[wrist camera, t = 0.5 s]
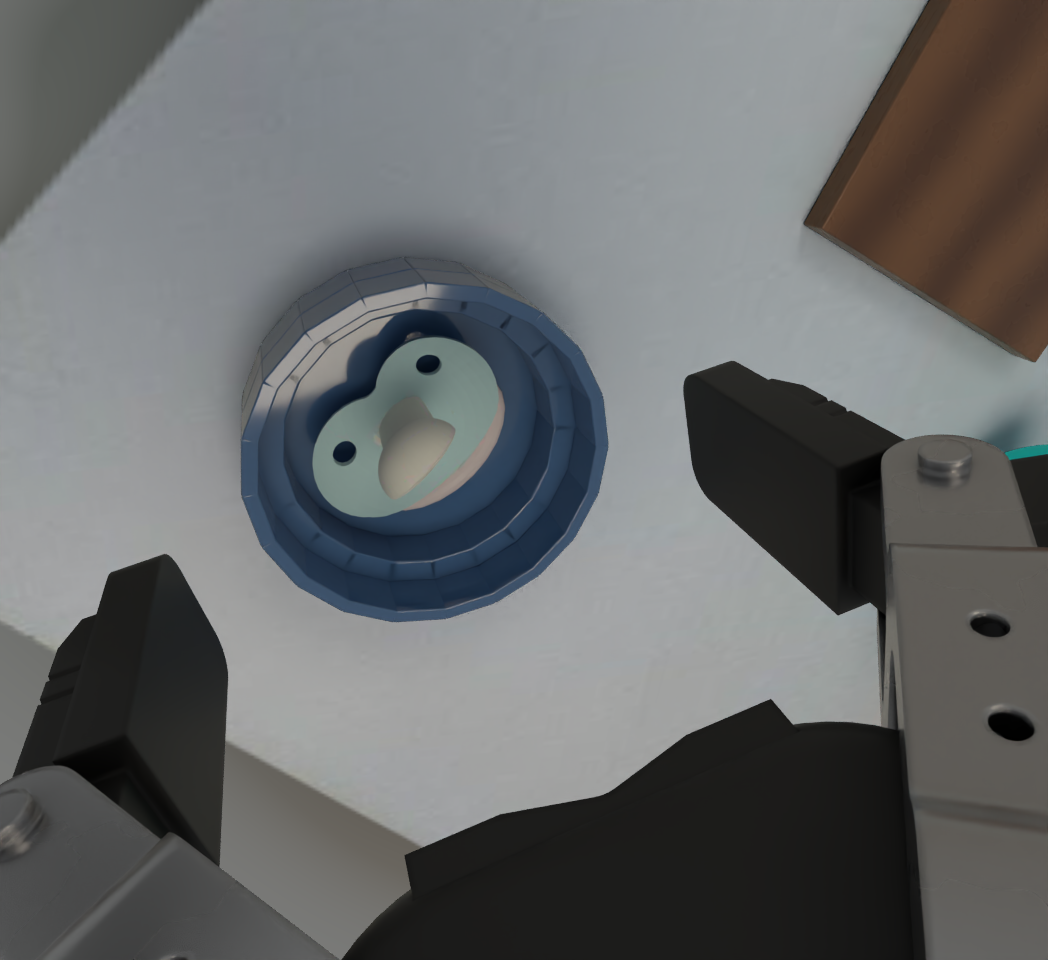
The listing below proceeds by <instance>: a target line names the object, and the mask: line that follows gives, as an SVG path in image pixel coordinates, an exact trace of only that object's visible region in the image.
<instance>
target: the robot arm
mask: <svg viewBox="0 0 1048 960" xmlns="http://www.w3.org/2000/svg"><path fill="white" fill-rule="evenodd" d="M683 392H684V401H685V410H686V418H687V426H688V435H689V443H690V452H691V460H692V466H693V470H694V473H695V476H696V479H697V481H698V484H699V486H700V488H701V489H702V491H703V492H704V494H705V495H706V497H707V498H708V499H709V500H710V501H711V502H712V503H714V504H715V505H716V506H717V507H718V508H719V509H720V510H721V511H722V512H724V513H725V514H726V515H727V516H728V517H729V518H730V519H731V520H732V521H734V522H735V523H736V524H737V525H738V526H739V527H740V528H741V529H742V530H744V531H745V532H746V533H747V534H748V535H749V536H750V537H751V538H752V539H754V540H755V541H756V542H757V543H758V544H759V545H760V546H761V547H762V548H764V549H765V550H766V551H767V552H768V553H769V554H770V555H771V556H772V557H774V558H775V559H776V560H777V561H778V562H779V563H780V564H781V565H782V566H784V567H785V568H786V569H787V570H788V571H789V572H790V573H791V574H792V575H794V576H795V577H796V578H797V579H798V580H799V581H800V582H801V583H802V584H804V585H805V586H806V587H807V588H808V589H809V590H810V591H811V592H812V593H814V594H815V595H816V596H817V597H818V598H819V599H820V600H821V601H822V602H824V603H825V604H826V605H827V606H828V607H829V608H830V609H831V610H832V611H834V612H835V613H836V614H837V615H840V614H843V613H845V612H848V611H850V610H852V609H855V608H857V607H860V606H862V605H864V604H867V603H869V602H870V603H871V604H873V605H874V606H875V607H876V608H877V644H878V667H879V689H880V712H881V727H880V726H876V725H869V724H861V723H853V722H814V723H801V724H795V725H793V724H792V723H791V722H790V721H789V720H788V718H787V717H786V716H785V715H784V714H783V713H782V711H781V710H780V709H779V708H778V707H777V706H776V704H775V703H774V702H773V701H772V700H771V699H770V700H767V701H765V702H763V703H760V704H758V705H756V706H753V707H751V708H749V709H746V710H744V711H742V712H739V713H737V714H735V715H732V716H730V717H728V718H725V719H723V720H721V721H718V722H716V723H714V724H711V725H709V726H706V727H704V728H702V729H699V730H697V731H695V732H692V733H690V734H688V735H686V736H685V737H683V738H682V739H680V740H679V741H678V742H676V743H675V744H674V745H672V746H671V747H670V748H668V749H667V750H666V751H664V752H663V753H662V754H660V755H659V756H658V757H656V758H655V759H654V760H652V761H651V762H650V763H648V764H647V765H646V766H644V767H643V768H642V769H640V770H639V771H638V772H636V773H635V774H634V775H632V776H631V777H630V778H628V779H627V780H626V781H624V782H623V783H622V784H620V785H619V786H618V787H616V788H615V789H613V790H612V791H610V792H609V793H606V794H604V795H601V796H598V797H593V798H588V799H582V800H577V801H571V802H566V803H560V804H555V805H549V806H544V807H538V808H533V809H527V810H522V811H516V812H511V813H506V814H500V815H498V816H495V817H493V818H491V819H488V820H486V821H484V822H481V823H479V824H477V825H474V826H472V827H470V828H467V829H465V830H463V831H460V832H458V833H456V834H453V835H451V836H449V837H446V838H444V839H442V840H439V841H437V842H435V843H432V844H430V845H427V846H425V847H423V848H420V849H418V850H416V851H413V852H411V853H409V854H406V855H405V860H406V865H407V871H408V876H409V881H410V886H411V890H409V891H408V892H406V893H405V894H404V895H402V896H401V897H400V898H399V899H397V900H396V901H395V902H394V903H393V904H391V905H390V906H389V907H388V908H387V909H386V910H385V911H384V912H383V913H381V914H380V915H379V916H378V917H377V918H376V919H375V920H374V921H373V923H371V925H370V926H369V927H368V928H367V929H366V930H365V931H364V932H363V933H362V934H361V936H360V937H359V938H358V939H357V940H356V942H354V944H353V945H352V947H351V948H350V949H349V950H348V952H347V953H346V954H345V956H344V957H343V958H342V960H1048V454H1045V455H1038V456H1032V457H1025V458H1019V459H1012V460H1009V458H1008V457H1007V455H1006V454H1005V453H1004V452H1003V451H1001V450H1000V449H998V448H997V447H995V446H993V445H991V444H989V443H986V442H984V441H981V440H978V439H974V438H970V437H964V436H957V435H927V436H920V437H915V438H911V439H907V440H904V439H903V438H901V437H899V436H897V435H895V434H893V433H891V432H890V431H888V430H886V429H884V428H882V427H880V426H878V425H877V424H875V423H873V422H871V421H869V420H867V419H865V418H864V417H862V416H860V415H858V414H856V413H854V412H852V411H848V412H847V411H846V408H845V407H843V406H841V405H839V404H837V403H836V402H834V401H832V400H831V401H828V400H827V398H826V397H824V396H823V395H821V394H819V393H817V392H815V391H813V390H811V389H810V388H808V387H806V386H804V385H800V384H795V383H790V382H785V381H781V380H776V379H770V380H767V379H766V378H764V377H762V376H760V375H759V374H757V373H755V372H753V371H751V370H750V369H748V368H746V367H744V366H743V365H741V364H739V363H737V362H735V361H729V362H726V363H723V364H720V365H717V366H714V367H712V368H709V369H706V370H703V371H700V372H697V373H694V374H691V375H688V376H687V377H686V379H685V381H684V387H683ZM48 677H49V680H50V681H48V682H46V684H45V687H44V690H43V692H42V695H41V698H40V701H41V705H38V707H37V709H36V712H35V715H34V718H33V721H32V724H31V726H30V729H29V733H28V735H27V738H26V741H25V743H24V746H23V749H22V752H21V755H20V757H19V760H18V763H17V766H16V769H15V772H14V775H13V778H11V779H9V780H7V781H6V782H4V783H2V784H1V785H0V960H339V959H338V958H337V957H335V956H334V955H333V954H331V953H330V952H329V951H328V950H326V949H325V948H324V947H322V946H321V945H320V944H318V943H317V942H316V941H314V940H313V939H312V938H311V937H309V936H308V935H307V934H305V933H304V932H303V931H302V930H300V929H299V928H298V927H296V926H295V925H294V924H292V923H291V922H290V921H288V920H287V919H286V918H284V917H283V916H282V915H281V914H279V913H278V912H277V911H276V910H274V909H273V908H272V907H270V906H269V905H268V904H266V903H265V902H264V901H262V900H261V899H260V898H259V897H257V896H256V895H254V894H253V893H252V892H251V891H249V890H248V889H247V888H245V887H244V886H243V885H242V884H240V883H239V882H238V881H237V880H235V879H234V878H232V877H231V876H230V875H229V874H227V873H226V872H225V871H224V870H222V869H221V868H220V867H219V864H220V842H221V840H220V839H221V820H222V798H223V777H224V776H223V775H224V754H225V733H226V711H227V690H228V670H227V664H226V659H225V656H224V652H223V649H222V646H221V644H220V641H219V639H218V637H217V635H216V633H215V631H214V629H213V628H212V626H211V624H210V622H209V620H208V619H207V617H206V615H205V613H204V612H203V610H202V608H201V606H200V604H199V603H198V601H197V599H196V597H195V595H194V594H193V592H192V590H191V588H190V586H189V585H188V583H187V581H186V579H185V578H184V576H183V574H182V572H181V570H180V569H179V567H178V565H177V564H176V562H175V561H174V560H173V559H172V558H171V557H170V556H169V555H167V554H163V555H160V556H157V557H154V558H152V559H149V560H146V561H143V562H140V563H137V564H134V565H131V566H128V567H125V568H122V569H120V570H117V571H114V572H111V573H110V574H109V576H108V578H107V581H106V585H105V588H104V591H103V594H102V598H101V601H100V604H99V608H98V611H97V614H96V615H93V616H90V617H87V618H85V619H82V620H81V621H80V622H79V624H78V625H77V626H76V627H75V629H74V630H73V631H72V632H71V633H70V635H69V636H68V637H67V638H66V639H65V641H64V642H63V643H62V644H61V646H60V647H59V648H58V650H57V653H56V656H55V659H54V661H53V664H52V667H51V670H50V673H49V676H48Z"/></svg>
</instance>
